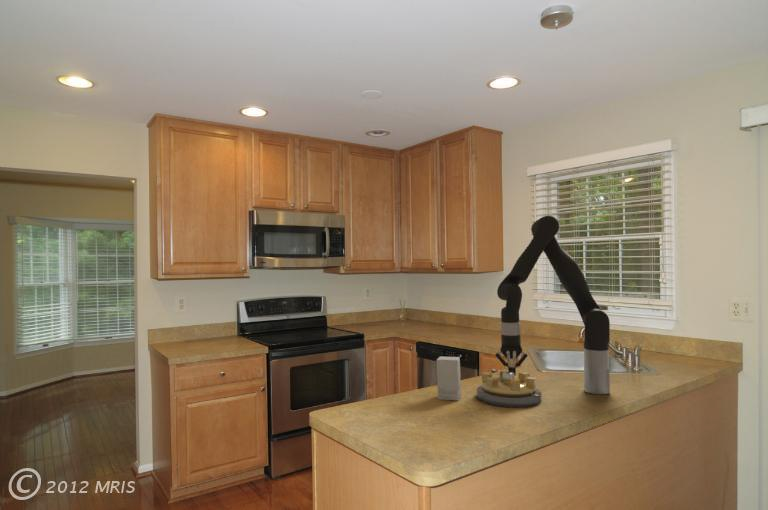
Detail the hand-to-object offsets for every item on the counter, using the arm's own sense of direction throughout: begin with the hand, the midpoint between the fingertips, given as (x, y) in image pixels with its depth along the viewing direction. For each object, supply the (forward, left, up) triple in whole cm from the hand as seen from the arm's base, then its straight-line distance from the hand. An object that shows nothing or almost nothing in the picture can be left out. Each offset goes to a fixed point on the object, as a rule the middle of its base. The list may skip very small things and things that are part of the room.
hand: (512, 376), depth 200 cm
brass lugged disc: (+1, +8, -3) cm, 9 cm away
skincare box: (+23, +14, -7) cm, 28 cm away
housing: (+1, +8, -7) cm, 11 cm away
